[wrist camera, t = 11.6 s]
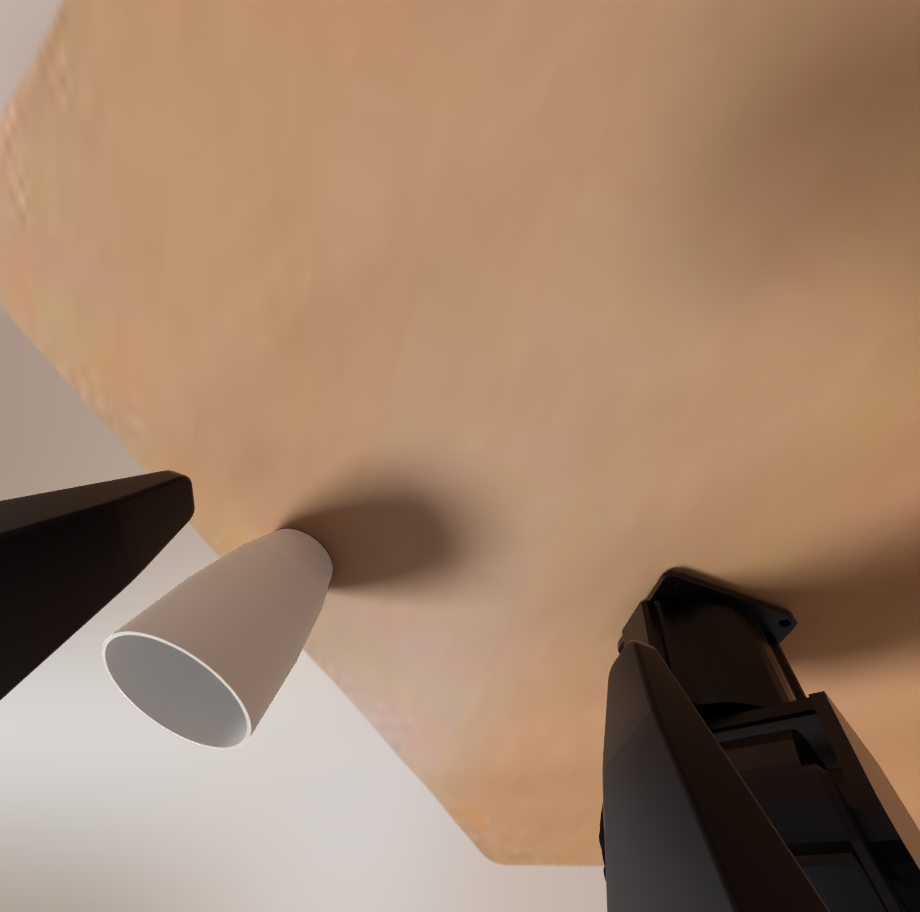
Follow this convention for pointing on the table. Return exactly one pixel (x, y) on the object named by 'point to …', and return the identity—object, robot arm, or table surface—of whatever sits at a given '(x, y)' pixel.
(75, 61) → the table surface
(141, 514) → the robot arm
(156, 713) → the cup
